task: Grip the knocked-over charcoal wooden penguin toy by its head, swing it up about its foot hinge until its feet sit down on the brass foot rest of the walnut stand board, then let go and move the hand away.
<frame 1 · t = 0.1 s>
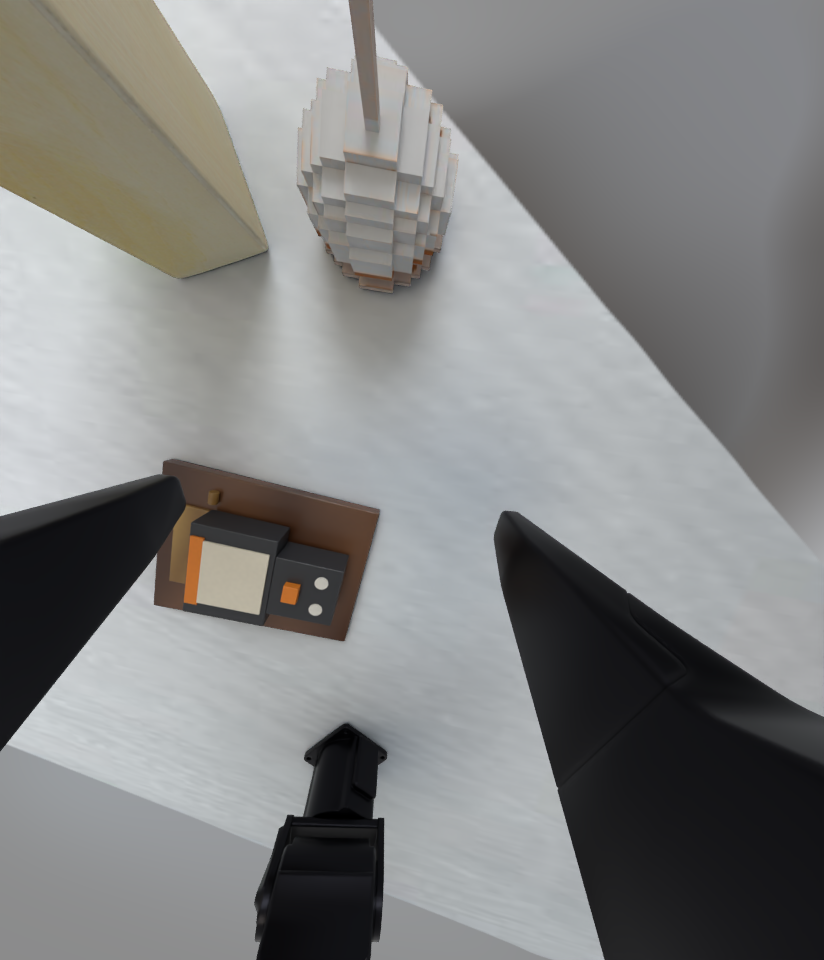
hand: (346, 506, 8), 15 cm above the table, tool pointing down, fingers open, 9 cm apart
penguin: (268, 577, 23), point 3 cm above the table, hinge at 0.0°
toy refrigerator: (193, 200, 19), on the table
decorative ornament: (383, 228, 20), on the table
stand: (216, 543, 25), on the table
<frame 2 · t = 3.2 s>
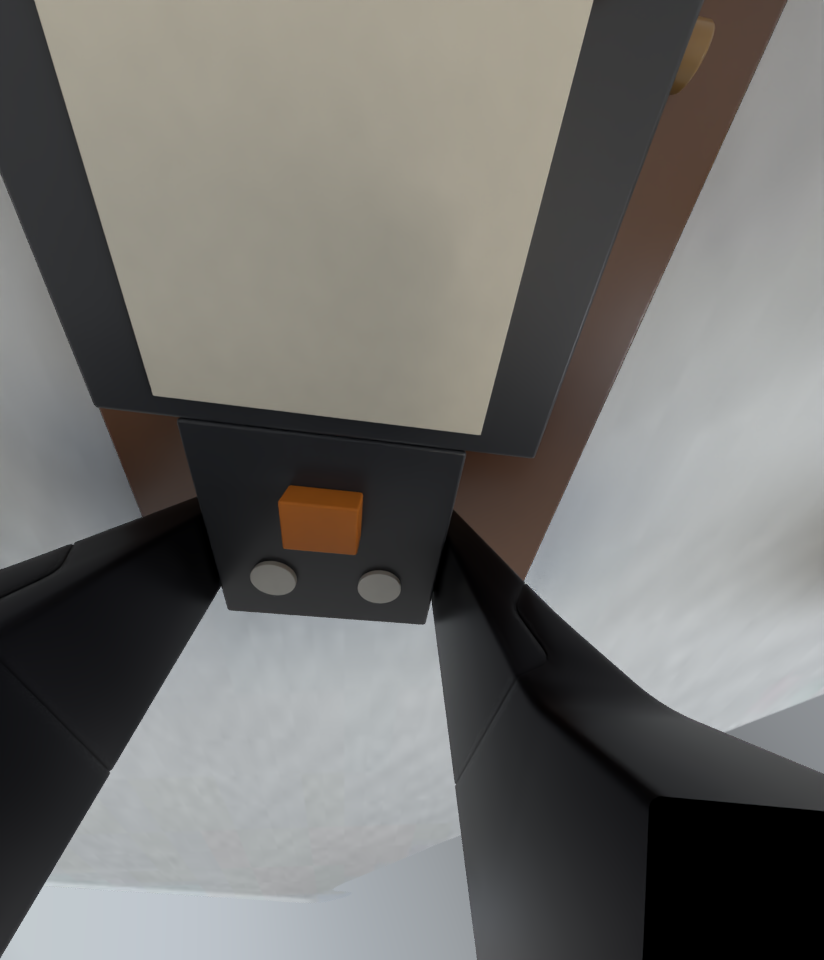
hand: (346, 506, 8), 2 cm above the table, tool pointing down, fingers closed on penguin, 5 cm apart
penguin: (337, 393, 6), point 3 cm above the table, hinge at 0.0°, touching gripper
stand: (371, 52, 5), on the table
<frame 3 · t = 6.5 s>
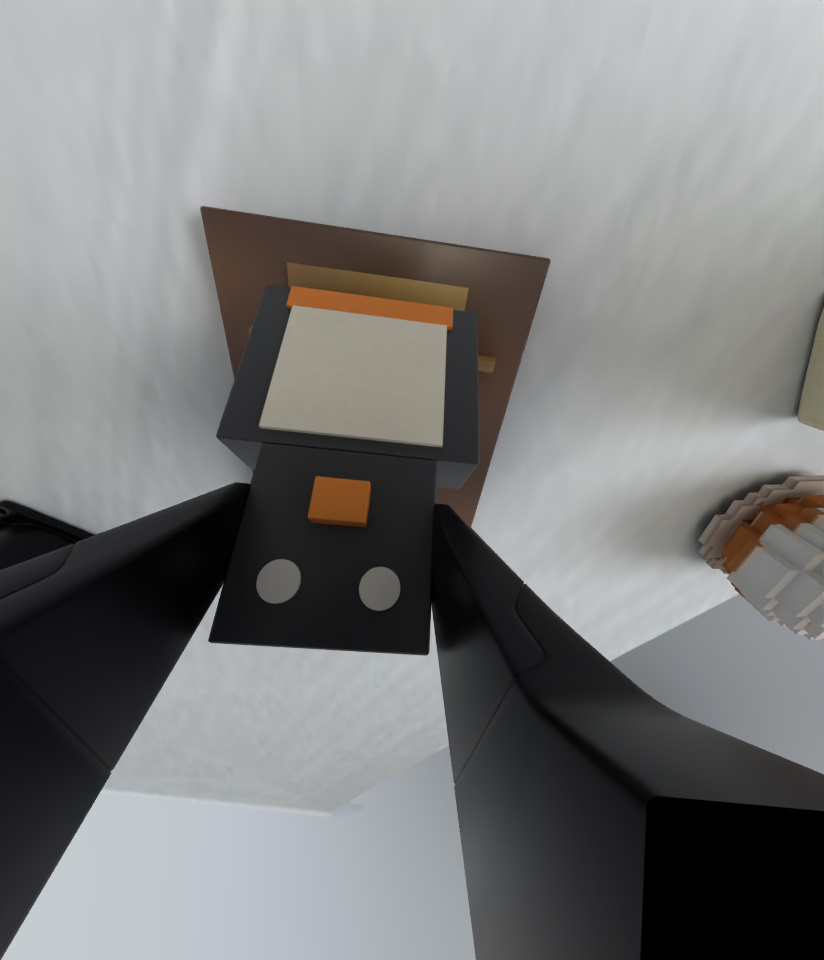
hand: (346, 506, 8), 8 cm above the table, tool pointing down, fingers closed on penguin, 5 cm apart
penguin: (356, 449, 10), point 7 cm above the table, hinge at 53.0°, touching gripper
decorative ornament: (755, 518, 20), on the table
stand: (378, 345, 14), on the table
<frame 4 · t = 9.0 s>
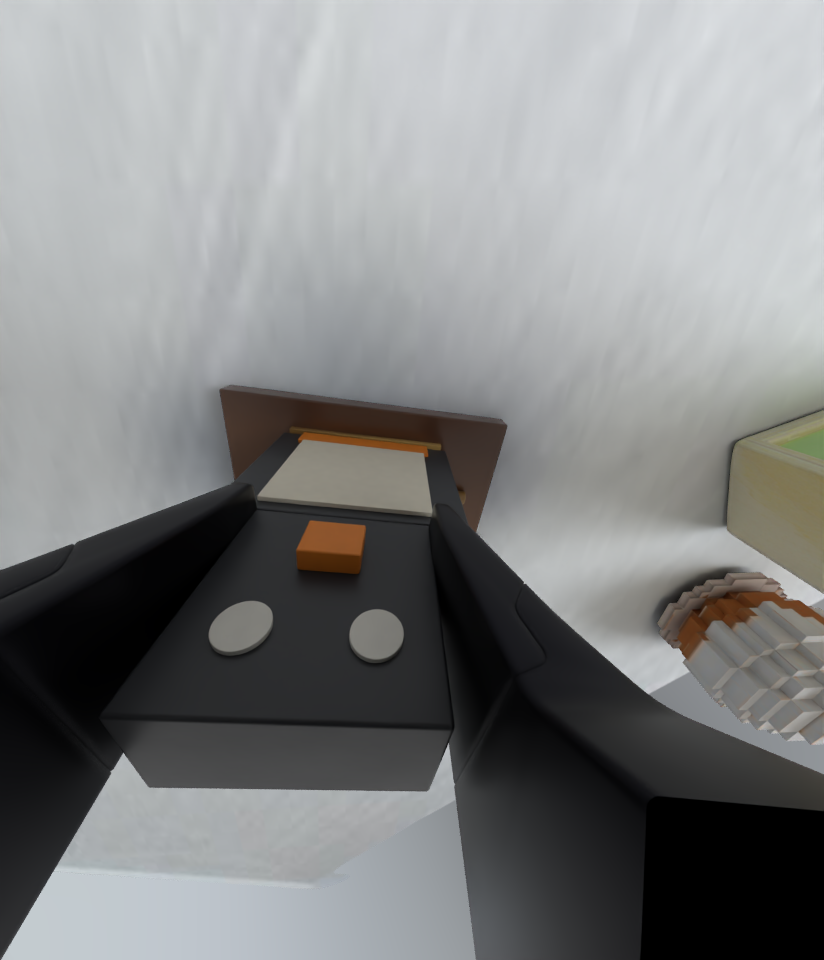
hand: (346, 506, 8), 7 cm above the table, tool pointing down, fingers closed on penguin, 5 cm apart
penguin: (346, 532, 10), point 7 cm above the table, hinge at 90.1°, touching gripper, stand
toy refrigerator: (801, 455, 17), on the table
decorative ornament: (706, 603, 22), on the table
stand: (366, 475, 16), on the table
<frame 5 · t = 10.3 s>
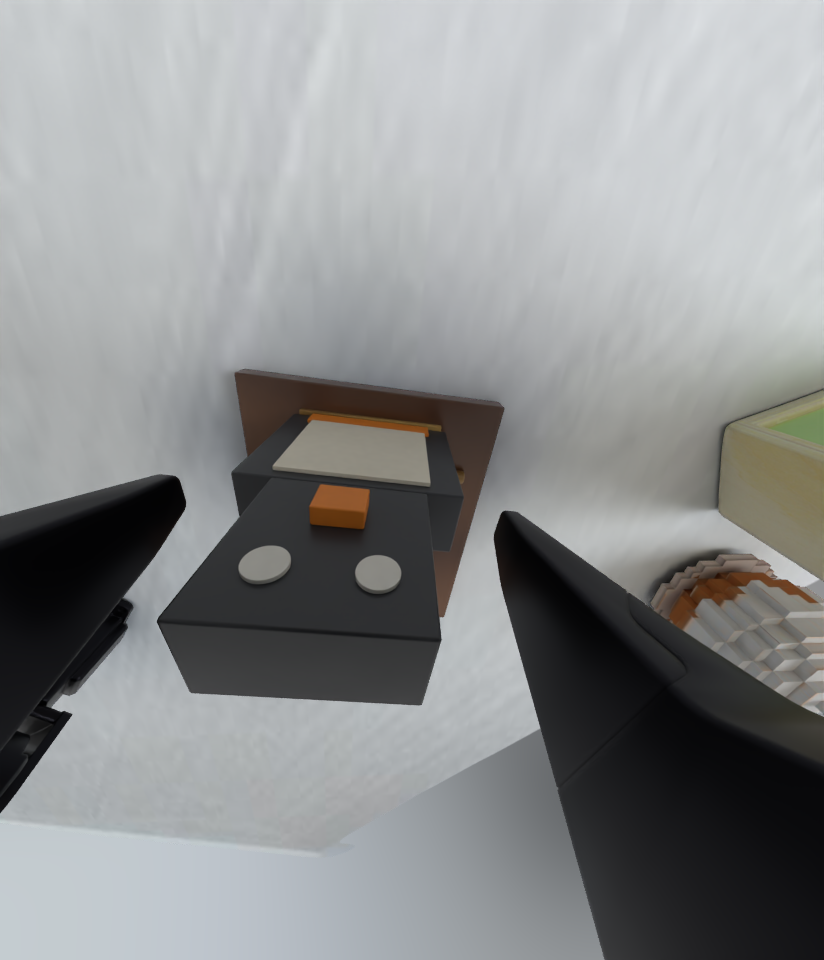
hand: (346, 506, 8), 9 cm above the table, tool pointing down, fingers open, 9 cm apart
penguin: (352, 500, 10), point 7 cm above the table, hinge at 90.0°
toy refrigerator: (792, 439, 17), on the table
decorative ornament: (699, 584, 23), on the table
stand: (370, 456, 17), on the table
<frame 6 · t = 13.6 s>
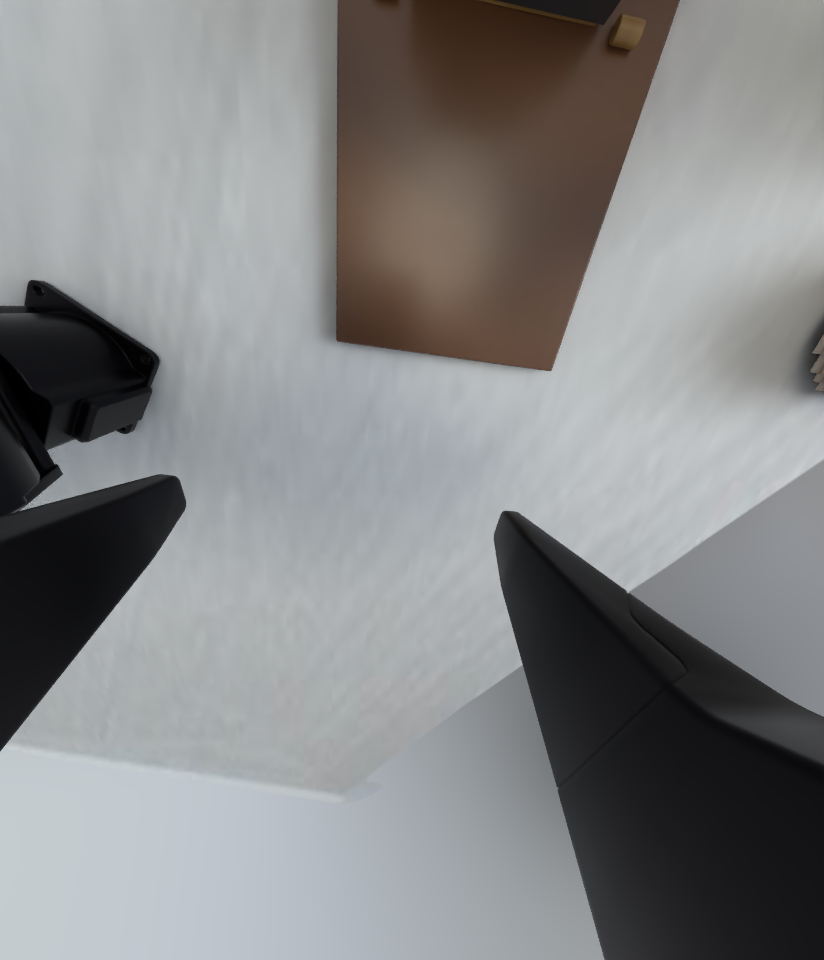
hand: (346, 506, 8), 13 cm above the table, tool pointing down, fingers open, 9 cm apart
stand: (500, 32, 12), on the table
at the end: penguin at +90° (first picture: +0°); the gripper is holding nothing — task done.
